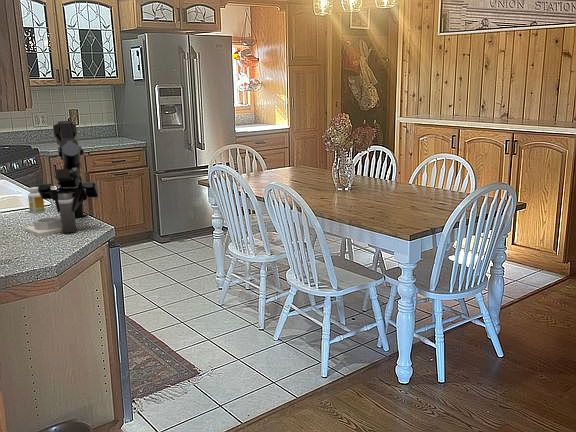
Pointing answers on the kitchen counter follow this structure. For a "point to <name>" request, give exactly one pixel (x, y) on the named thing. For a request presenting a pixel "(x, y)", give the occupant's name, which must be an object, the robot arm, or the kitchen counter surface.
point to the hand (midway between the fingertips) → (65, 211)
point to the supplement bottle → (35, 201)
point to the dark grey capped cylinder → (66, 212)
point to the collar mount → (45, 226)
